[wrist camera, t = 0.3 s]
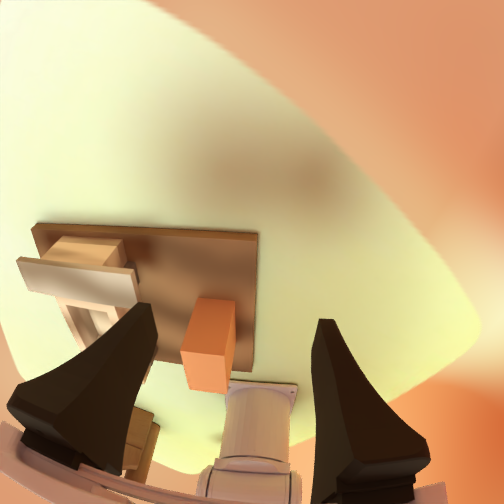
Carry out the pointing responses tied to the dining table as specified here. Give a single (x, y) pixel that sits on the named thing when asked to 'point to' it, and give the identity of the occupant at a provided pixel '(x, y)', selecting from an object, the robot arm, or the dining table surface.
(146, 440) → the wooden toy
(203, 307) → the orange upright block
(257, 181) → the dining table surface
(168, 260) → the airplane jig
